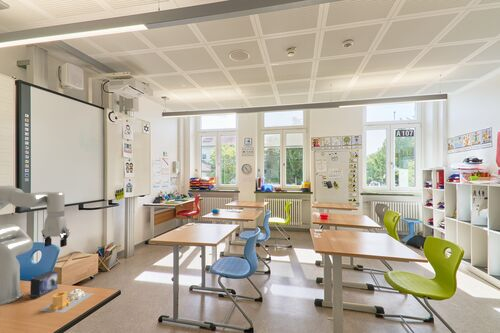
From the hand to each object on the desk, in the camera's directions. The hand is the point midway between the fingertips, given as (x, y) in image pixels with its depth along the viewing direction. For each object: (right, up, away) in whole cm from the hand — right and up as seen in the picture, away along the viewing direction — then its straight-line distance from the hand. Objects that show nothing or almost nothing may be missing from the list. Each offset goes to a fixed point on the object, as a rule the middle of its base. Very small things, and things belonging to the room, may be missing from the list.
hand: (55, 246), depth 129 cm
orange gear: (+11, -27, -11) cm, 31 cm away
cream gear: (+13, -27, -2) cm, 30 cm away
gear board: (+12, -28, -7) cm, 31 cm away
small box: (-11, -29, +5) cm, 31 cm away
